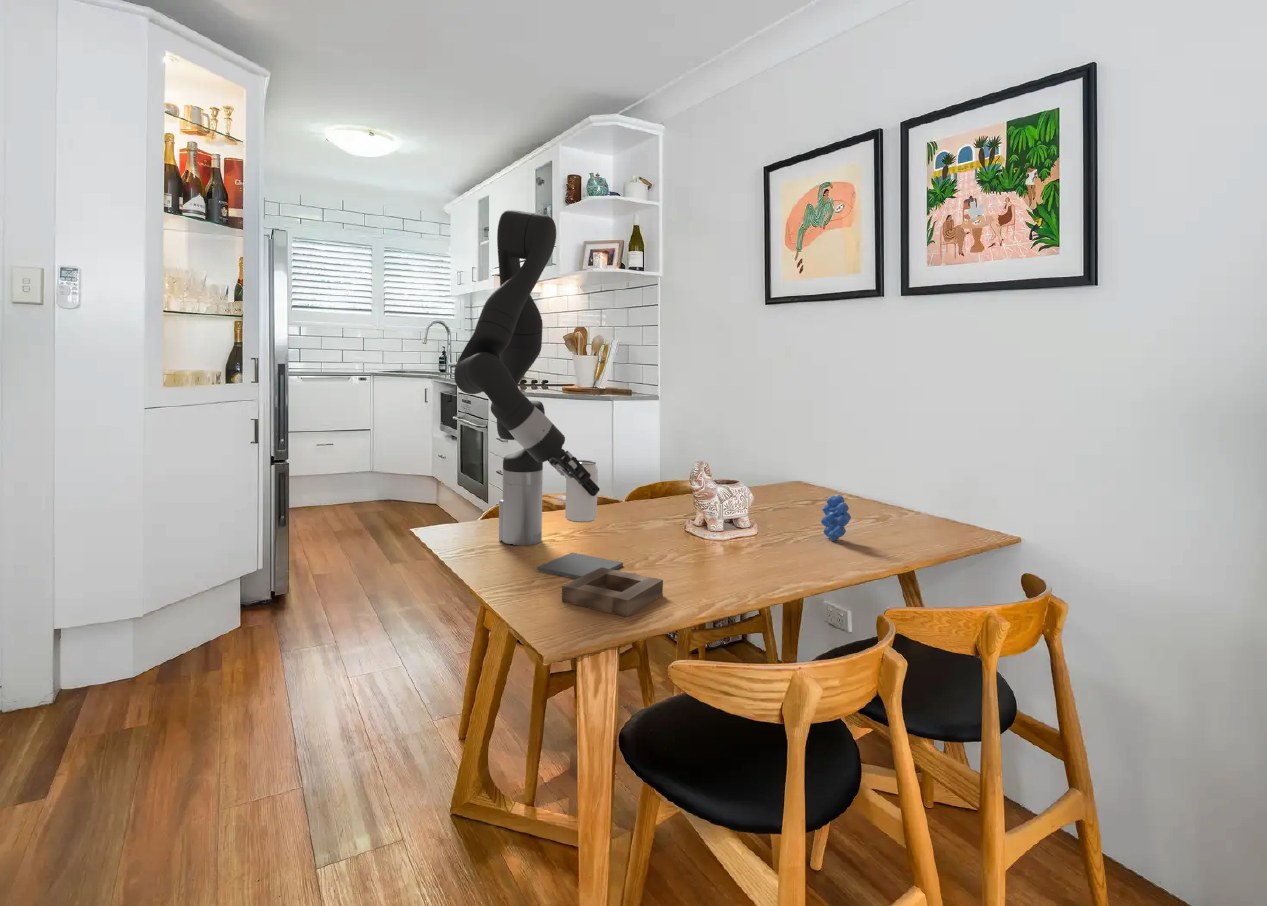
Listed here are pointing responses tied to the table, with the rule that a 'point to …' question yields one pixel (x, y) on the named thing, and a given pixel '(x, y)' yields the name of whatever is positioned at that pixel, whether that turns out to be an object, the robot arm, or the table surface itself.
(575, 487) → the can
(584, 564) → the mat
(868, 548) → the table surface
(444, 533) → the table surface
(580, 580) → the collar
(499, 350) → the robot arm
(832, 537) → the grapes
